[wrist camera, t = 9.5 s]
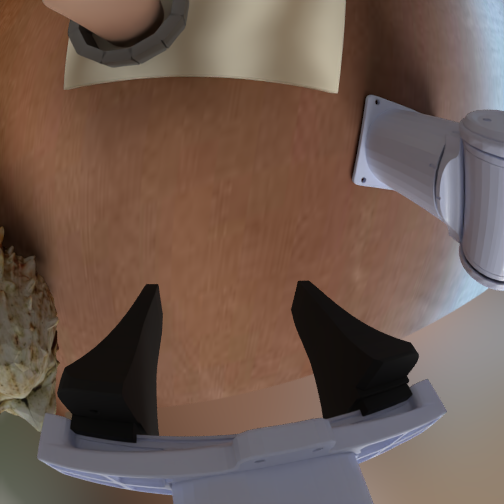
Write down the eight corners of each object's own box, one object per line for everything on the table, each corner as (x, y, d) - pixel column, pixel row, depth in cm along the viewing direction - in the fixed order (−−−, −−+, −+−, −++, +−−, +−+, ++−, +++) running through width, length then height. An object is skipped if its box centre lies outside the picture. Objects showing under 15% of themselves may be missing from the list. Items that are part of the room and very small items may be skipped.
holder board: (340, -5, 13) (362, -17, 10) (331, 93, 17) (354, 93, 15) (86, -14, 9) (69, -28, 6) (69, 89, 14) (46, 89, 11)
